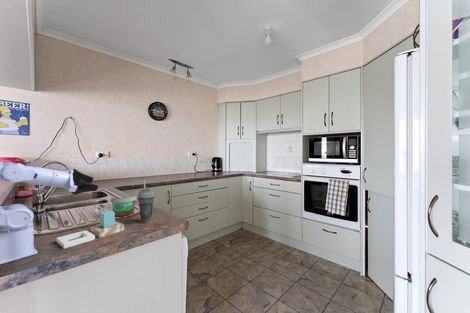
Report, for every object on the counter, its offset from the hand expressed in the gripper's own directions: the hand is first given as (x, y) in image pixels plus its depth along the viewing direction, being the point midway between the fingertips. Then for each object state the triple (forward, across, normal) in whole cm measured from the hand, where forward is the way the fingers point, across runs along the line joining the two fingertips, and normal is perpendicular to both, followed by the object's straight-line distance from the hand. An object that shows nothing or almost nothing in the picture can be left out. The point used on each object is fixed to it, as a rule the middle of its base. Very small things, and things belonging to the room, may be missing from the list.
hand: (94, 184), depth 79 cm
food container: (+22, +9, +19) cm, 30 cm away
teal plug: (+9, -7, +17) cm, 20 cm away
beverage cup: (+25, -7, +12) cm, 29 cm away
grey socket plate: (-1, -8, +19) cm, 21 cm away
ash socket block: (+9, -7, +17) cm, 20 cm away
